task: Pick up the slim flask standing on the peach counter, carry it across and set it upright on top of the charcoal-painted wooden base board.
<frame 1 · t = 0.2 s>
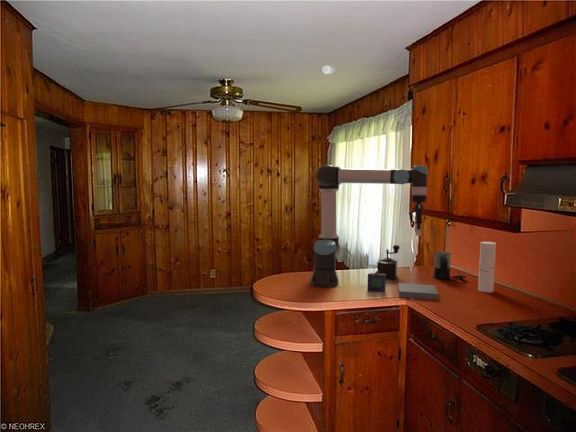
hand: (417, 233, 219), 28 cm above the countertop, tool pointing down, fingers open, 13 cm apart
base board: (417, 294, 203), on the countertop
cylindrical container: (485, 290, 210), on the countertop
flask: (376, 291, 208), on the countertop
milk frother: (449, 279, 232), on the countertop
coffee grinder: (388, 276, 238), on the countertop
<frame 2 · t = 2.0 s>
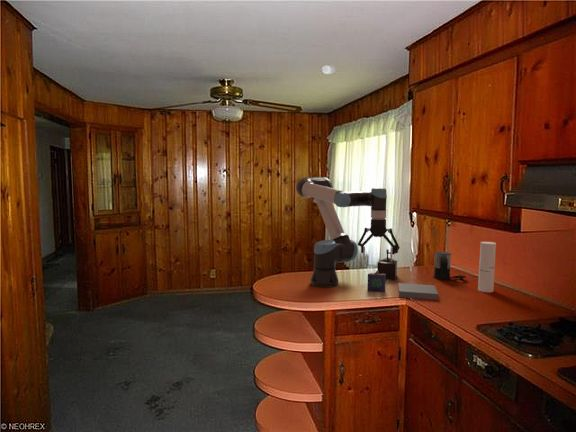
hand: (377, 260, 206), 16 cm above the countertop, tool pointing down, fingers open, 13 cm apart
nothing on the countertop moved.
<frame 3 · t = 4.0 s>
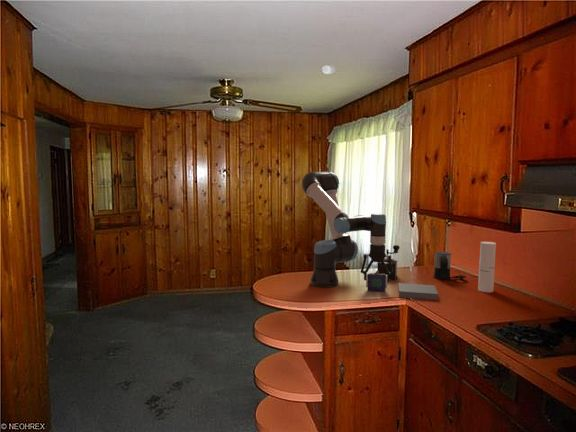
hand: (376, 287, 208), 2 cm above the countertop, tool pointing down, fingers closed on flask, 9 cm apart
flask: (376, 291, 208), on the countertop, touching gripper
everything else where it was.
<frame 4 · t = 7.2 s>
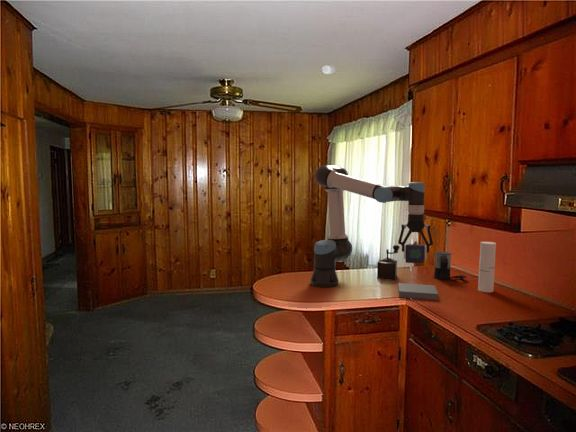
hand: (415, 258, 201), 18 cm above the countertop, tool pointing down, fingers closed on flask, 9 cm apart
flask: (414, 262, 201), point 16 cm above the countertop, touching gripper
everything else where it was.
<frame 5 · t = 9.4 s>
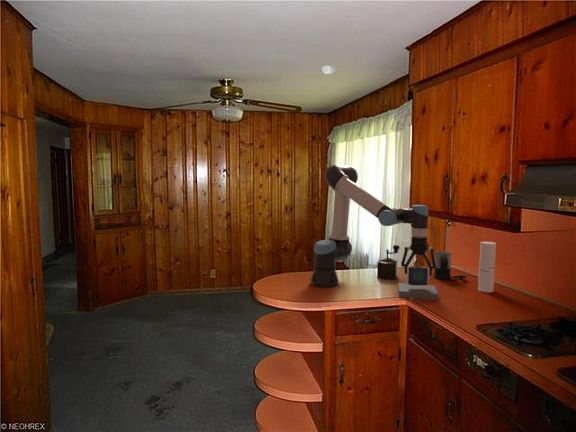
hand: (417, 280, 202), 7 cm above the countertop, tool pointing down, fingers closed on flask, 9 cm apart
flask: (417, 285, 202), point 5 cm above the countertop, touching gripper
everything else where it was.
when the fingers open (6 cm above the countertop, at t = 10.4 s): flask drops 1 cm, resting on base board.
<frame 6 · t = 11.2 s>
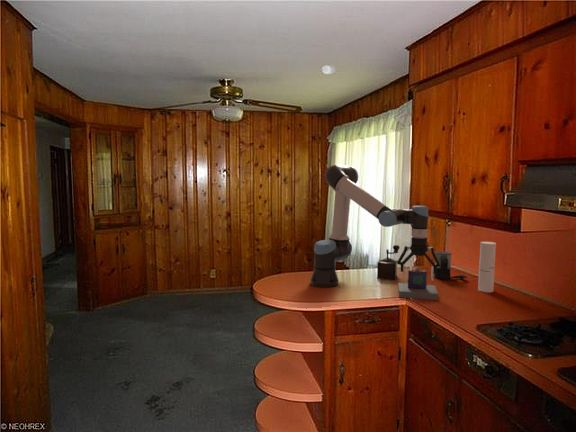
hand: (417, 279, 202), 8 cm above the countertop, tool pointing down, fingers open, 13 cm apart
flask: (417, 288, 203), point 3 cm above the countertop, touching base board
everything else where it was.
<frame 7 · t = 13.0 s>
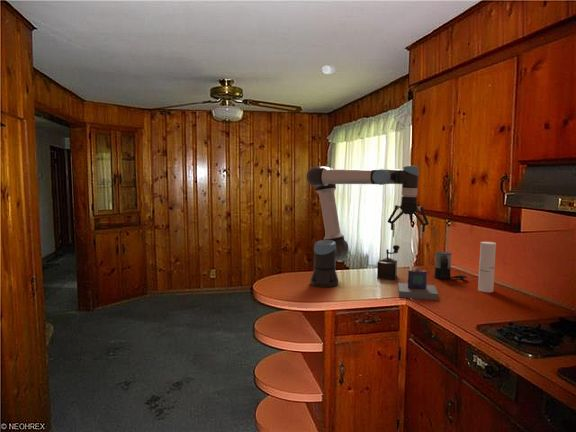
hand: (407, 237, 209), 27 cm above the countertop, tool pointing down, fingers open, 13 cm apart
nothing on the countertop moved.
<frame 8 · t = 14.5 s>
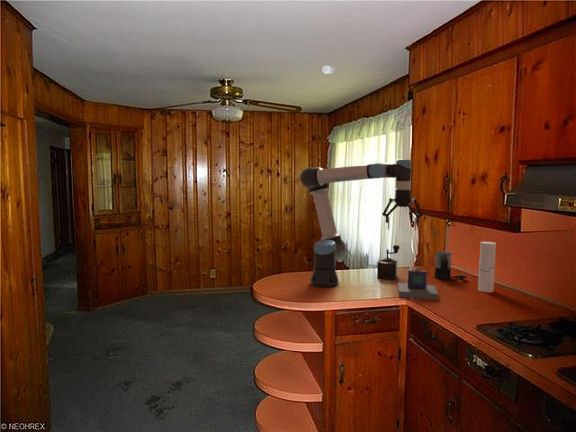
hand: (401, 229, 213), 31 cm above the countertop, tool pointing down, fingers open, 13 cm apart
nothing on the countertop moved.
at the end: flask inside the target area on the base board (0.1 cm from its centre), point 2.8 cm above the base board's base; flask tilted 0°; the gripper is holding nothing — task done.
